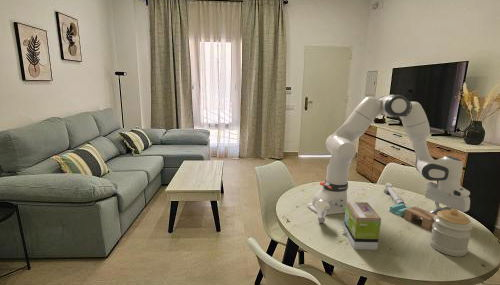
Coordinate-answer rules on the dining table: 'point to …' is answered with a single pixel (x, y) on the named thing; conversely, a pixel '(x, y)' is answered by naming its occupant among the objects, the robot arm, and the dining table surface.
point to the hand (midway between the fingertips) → (443, 212)
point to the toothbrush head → (393, 193)
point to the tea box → (362, 225)
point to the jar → (451, 232)
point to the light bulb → (322, 209)
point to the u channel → (398, 209)
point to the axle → (440, 210)
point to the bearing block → (416, 213)
